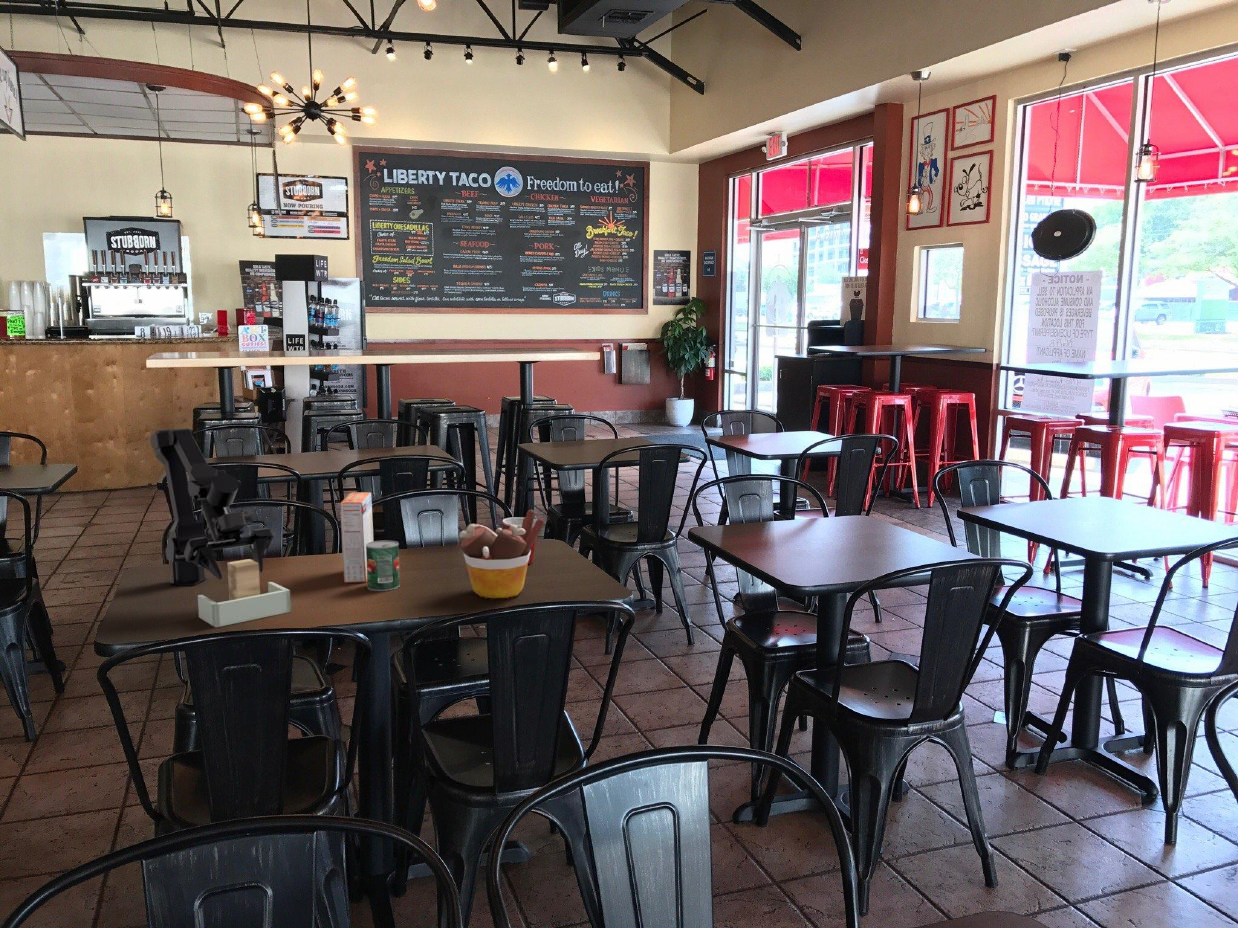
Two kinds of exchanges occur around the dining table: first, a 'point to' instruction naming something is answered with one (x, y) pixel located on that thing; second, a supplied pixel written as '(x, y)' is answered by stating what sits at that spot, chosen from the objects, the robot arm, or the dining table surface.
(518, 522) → the plastic cup
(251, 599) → the open-side box
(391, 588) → the canned tomato
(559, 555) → the dining table surface
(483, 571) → the bucket of meat
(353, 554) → the cracker box
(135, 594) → the dining table surface
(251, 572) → the maple block
